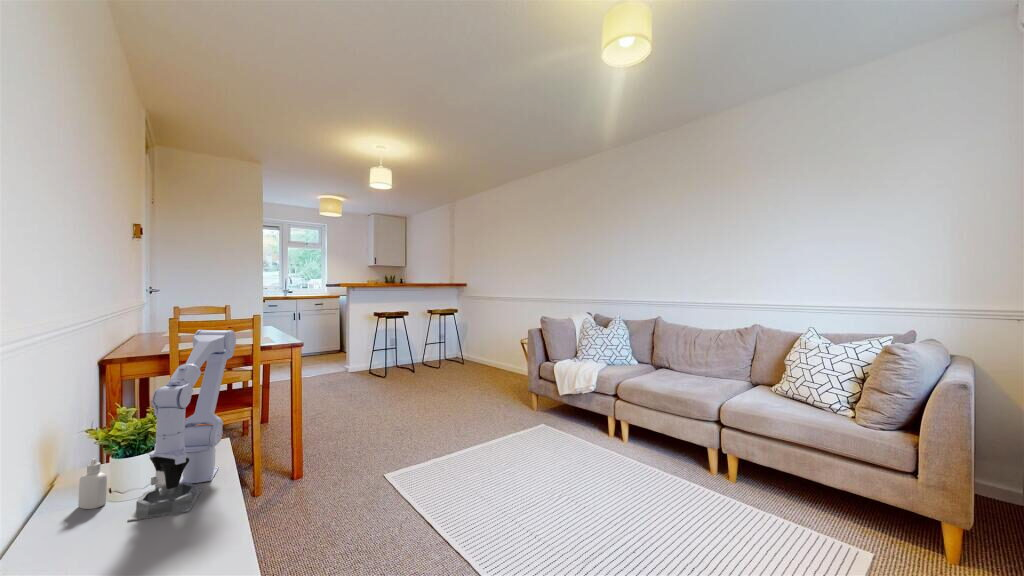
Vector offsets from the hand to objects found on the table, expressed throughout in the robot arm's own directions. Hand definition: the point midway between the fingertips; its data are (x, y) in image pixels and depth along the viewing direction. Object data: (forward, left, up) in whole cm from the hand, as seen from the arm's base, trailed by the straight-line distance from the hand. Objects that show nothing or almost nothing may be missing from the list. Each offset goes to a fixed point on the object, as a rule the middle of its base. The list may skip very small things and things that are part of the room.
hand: (168, 484), depth 105 cm
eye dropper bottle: (-6, -17, -6) cm, 19 cm away
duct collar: (0, 0, -5) cm, 5 cm away
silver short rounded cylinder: (0, 0, -2) cm, 2 cm away
